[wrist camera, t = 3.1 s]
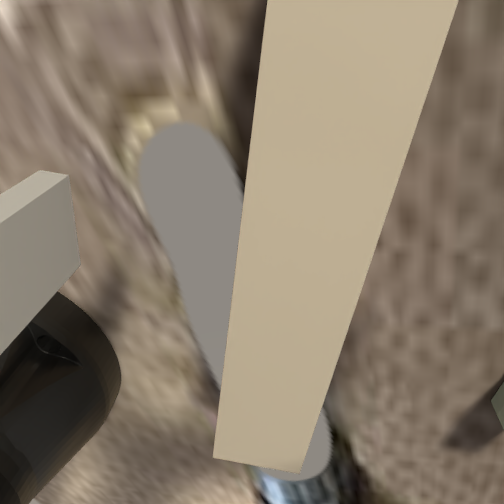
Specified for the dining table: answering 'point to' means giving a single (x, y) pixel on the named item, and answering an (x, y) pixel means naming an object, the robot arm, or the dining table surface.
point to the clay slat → (316, 205)
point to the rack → (499, 404)
